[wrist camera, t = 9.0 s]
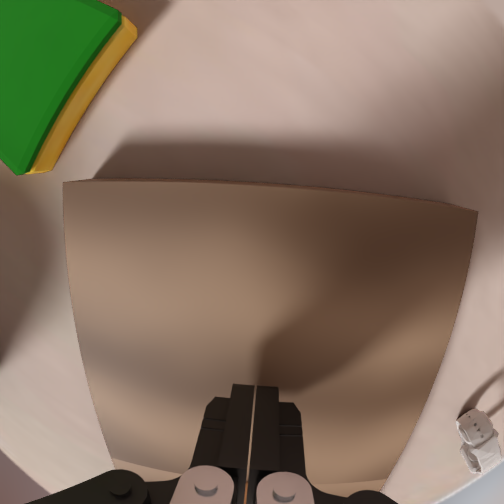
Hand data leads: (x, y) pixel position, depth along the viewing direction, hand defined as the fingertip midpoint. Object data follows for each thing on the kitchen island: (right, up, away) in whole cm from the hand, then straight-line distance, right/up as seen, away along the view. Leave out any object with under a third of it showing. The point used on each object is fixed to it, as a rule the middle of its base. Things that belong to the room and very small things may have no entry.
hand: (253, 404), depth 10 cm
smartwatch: (+12, -4, +4) cm, 13 cm away
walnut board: (0, -3, +4) cm, 5 cm away
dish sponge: (-12, +15, +1) cm, 19 cm away
